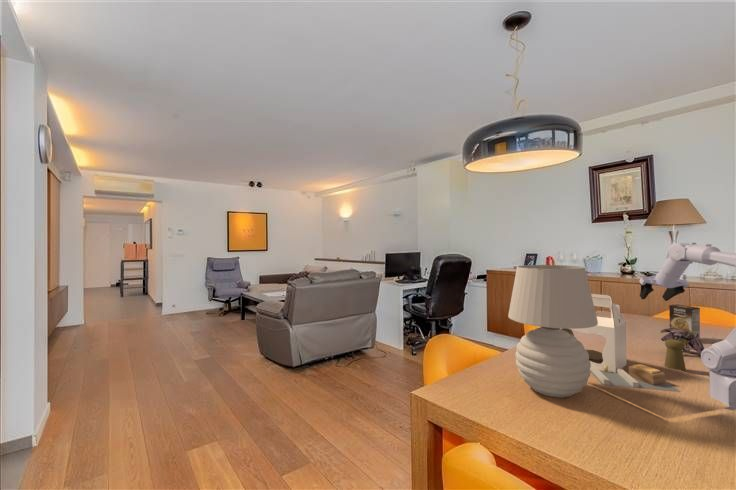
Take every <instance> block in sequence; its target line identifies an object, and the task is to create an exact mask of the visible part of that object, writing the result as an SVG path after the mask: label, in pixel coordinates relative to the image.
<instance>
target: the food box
mask: <svg viewBox="0 0 736 490" xmlns="http://www.w3.org/2000/svg"><path fill="white" fill-rule="evenodd" d="M668 309H669V310H668V311H669V328H676V329H681V330H684V331H690V332H692V333H693V335H694V336H695V337H697V338H698V339H699V340H700V341H701V324H700V323H701V319H700V318H701V314H700V313H701V308H700V307H697V306H690V305H684V304H669V307H668ZM669 333H672V332H669Z"/></svg>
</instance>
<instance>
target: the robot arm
mask: <svg viewBox="0 0 736 490" xmlns="http://www.w3.org/2000/svg"><path fill="white" fill-rule="evenodd" d="M667 252H668V257H667V258H666V260H665V262H664V263H663V265H662V266H661V268H660V269H659V271H658V272H657V273H656V274H655V275H652V276H647V277H640V279H639V283H640V292H639V297H640V298H641V300H645V299H647V297H648V296H649V295H650V294H651V293H652V292H654V291H655V290H654V288H653V285H654V286H657V287H662V288H664V289H665V291H664V293H663V295H662V296H661V297H662V298H663V300H664V301H665V302H668V301H670V300H671V299H672V298H673V297H675V296H677V295H680V294H683V293H685V291H686V289H685V288H688V287H689V286H690V283H689V281H688V280H686V279H683V278H681V277H682V275H684V273H685V271H686V270H687V269H688V267H689V266H690V264H691V265H692V264H693V263H697V264H702V265H708V266H713V265H716V264H721V265H725V266H730V267H734V274H736V253H732V252H723V251H721V250H720V248H719V247H717V246H712V244H710V243H703V244H697V243H696V242H676V243H671V244H670V245H669V247H668V251H667ZM680 278H681V279H680ZM700 359H701V362H702V364H703V365H704V366H705V367H706V370H709V396H710V397H711V398H712V399H714V400H716V401H719V402H721V403H722V404H724V405H725V406H727V407H724V410H725V409H726V410H735V411H736V326H735V327H734V328H733V329H732V330H731V331H730V333H729V334H728V335H727V337H725V339H723V340H721V341H717V342H715V343H713V344H711V345H710V346H709V347H706V348H704V350H703V351H702V352H701V357H700Z"/></svg>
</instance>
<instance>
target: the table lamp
mask: <svg viewBox="0 0 736 490" xmlns="http://www.w3.org/2000/svg"><path fill="white" fill-rule="evenodd" d="M591 294H592V292H591V286H590V283H589V280H588V274H587V272H586V267H584V266H580V265H563V264H561V265H560V264H527V265H517V266H516V271H515V277H514V282H513V287H512V292H511V298H510V303H509V309H508V315H507V316H508V319H510V320H511V321H514V322H516V323H519V324H524V325H529V326H535V328H534V329H531V330H529V331H528V332H526V334H524V335H523V336H521V338H520V341H519V342H518V343H517V344H516V351H515V365H516V367H517V369H518V374H519V375H520V376H521V378H523V381H524V382H525V384H527V385H528V386H529V387H531V388H532V389H533V391H535V392H537V393H539V394H541V395H544V396H547V397H550V398H560V399H562V398H569V397H571V396H573V395H575V394H578V393H579V392H581V391H582V389H583V388H584V387H585V386H587V384H588V381H589V378H590V376H591V372H590V371H591V370H590V367H591V363H590V361H591V360H590V359H589V353H588V352H587V350H588V349H586V348H585V346H584V344H583V343H582V342H581V341H580V340H578V338H577V337H576V336H575V335H574V336H573V335H572V334H569V333H568V332H566V331H564V330H561V329H560V328H563V329H579V328H589V327H594V326H596V325H597V324H598V321H597V316H598V315H597V312H596V309H595V306H594V304H593V300H592V295H591ZM589 360H590V361H589Z"/></svg>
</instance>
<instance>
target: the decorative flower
mask: <svg viewBox="0 0 736 490" xmlns="http://www.w3.org/2000/svg"><path fill="white" fill-rule="evenodd" d="M670 332H672V333H670ZM660 333H667V334H665V335H664V336H662V338H661V339H660V340H661V341H662V342H665V341H666V340H668V339H674V340H679V341H681V342H683V344H684V349H683V350H682V352H684V351H685V352H690V351H695V352H697V353H698V355H699V357H700V358H701V352H702V351H703V350H704V349H705V347H704V345H703V343H702V341H701V339H700V340H699V339H698V338H697V337H695V336H694V335H693V333H692V332H690V331H684V330H681V329H676V328H670V327H669V328H664V329H662V330H661V331H660Z"/></svg>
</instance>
